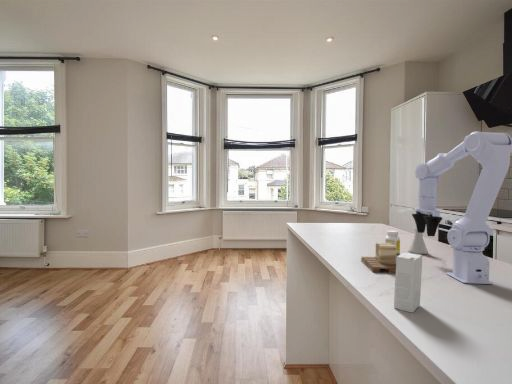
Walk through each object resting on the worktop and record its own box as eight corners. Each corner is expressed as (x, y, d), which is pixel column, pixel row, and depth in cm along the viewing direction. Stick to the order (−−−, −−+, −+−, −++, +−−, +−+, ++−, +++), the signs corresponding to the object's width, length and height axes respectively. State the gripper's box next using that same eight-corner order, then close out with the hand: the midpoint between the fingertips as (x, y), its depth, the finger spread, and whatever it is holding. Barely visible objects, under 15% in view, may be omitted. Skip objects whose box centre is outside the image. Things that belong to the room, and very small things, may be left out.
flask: (404, 251, 131) (405, 228, 130) (416, 250, 134) (416, 227, 134) (419, 255, 124) (420, 230, 124) (431, 253, 127) (432, 229, 127)
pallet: (411, 273, 98) (411, 268, 98) (373, 272, 99) (373, 266, 99) (394, 262, 112) (395, 257, 112) (361, 261, 113) (361, 256, 113)
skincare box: (401, 300, 75) (402, 251, 75) (421, 305, 72) (423, 254, 72) (392, 308, 71) (394, 255, 70) (414, 314, 68) (416, 259, 67)
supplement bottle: (396, 254, 125) (397, 230, 125) (401, 257, 120) (402, 232, 120) (383, 253, 126) (383, 229, 126) (387, 256, 121) (388, 232, 120)
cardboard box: (395, 264, 103) (396, 246, 103) (380, 263, 103) (380, 245, 103) (390, 260, 108) (390, 243, 108) (375, 259, 108) (375, 242, 108)
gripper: (407, 195, 119) (406, 230, 120) (425, 197, 105) (423, 237, 105) (426, 196, 119) (425, 231, 119) (446, 198, 104) (445, 238, 105)
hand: (425, 234), depth 112 cm, fingers open, 7 cm apart
